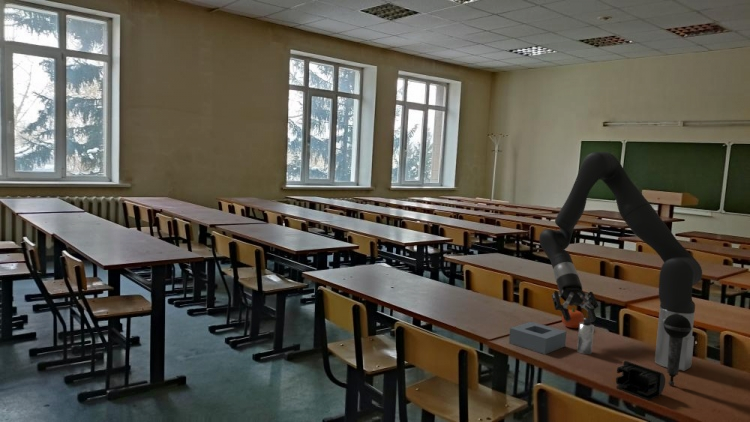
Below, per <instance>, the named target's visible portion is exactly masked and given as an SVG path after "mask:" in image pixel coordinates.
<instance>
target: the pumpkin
mask: <svg viewBox="0 0 750 422" xmlns="http://www.w3.org/2000/svg"><path fill="white" fill-rule="evenodd" d="M568 311H569V314H570V317H571V320H570V321H569V322H566V320H565V319H564V317H563V314H562V313H561V314H562V315H561V322H562V324H563V326H565V327H567V328H569V329H579V323H584V318H585V316H584V313H582V312H581V311H579V310H576V309H575V308H574V307H573V308H572V309H568Z"/></svg>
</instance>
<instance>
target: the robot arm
mask: <svg viewBox="0 0 750 422" xmlns="http://www.w3.org/2000/svg"><path fill="white" fill-rule="evenodd" d="M599 180H601V182H603V183H604V184H605V186H606V187H608V189H609V190H610V192H611V193H612V194H613V196H614V199H615V202H616V206H617V210H618V212H619V215H620V216H621V218H622V220H623V221H624V222H625V224H626V225H627V226H628V228H629V229H630V230H631V232H633V235H634V234H635V236H636V237H638V238H639V239H640V240H641V241H642V242H643V243H645V244H646V245H648V246H649V247H651V249H653V250H654V251H655V252H656V254H657V255H658V256H659V257H660V259H661V260H662V262H663V264H662V265H661V266H660V267H661V268H660V271H659V282H658V299H659V304H660V305H659V313H658V323H657V324H658V325H657V333H656V342H655V343H656V345H655V353H654V362H655V363H656V364H657V365H658V366H660V367H664V368H667V367H668V351H669V335H668V334H667V333H666V331H665V329H664V326H663V323H664V321H665V319H666V318H667V317H668V316H670V315H673V314H679V315H682V316H684V317H686V318H687V319H688V320H689V322H690V324H691V328H692V329H691V331H690V333H689V334H688V335H687V336H686V337H684V338H683V341H682V348H681V355H680V362H679V369H678V371H682V372H685V371H686V370H689V369H690V368H691V367H692V361H693V354H694V353H693V352H694V342H695V336H694V335H693V330H694V321H695V320H694V319H695V313H696V312H695V311H696V304H695V302H694V301H693V286H695V285H697V284H699V282H700V281H701V279H702V277H703V269H702V266H701V264H700V263H699V261H697V259H696V258H695V257H694V256H693V255H692V254H691V253H690V252H689V251H688V250H687V249H686V248H685V247H684V246H683V245H682V243H680V241H679V240H678V238H676V237H675V235H674V234H673V232H672V231H671V230H670V228H669V227H668V226H667V224H666V223H665V221H663V219H662V218H661V217H660V215H659V213H658V212H657V211H656V210H655V208H654V207H653V206H652V205H651V203H650V202H649V201H648V200H647V199H646V197H644V195H643V194H642V192H641V191H640V189H638V187H637V185H635V184H634V183H633V181H632V180H631V178H630V177H629V176H628V174H627V172H626V171H625V169H624V167H623V165H622V164H621V162H620V161H619V159H618V158H617V157H616V155H614V154H612V153H610V152H604V151H593V152H591V153H589V154H587V155H586V156H585V157H584V159H583V161H582V164H581V165H580V168H579V171H578V174H577V175H576V178H575V181H574V182H573V185H572V187H571V190H570V192H569V195H568V196H567V198H566V200H565V202H564V203H563V205H562V206H561V209H560V210H559V212H558V214H557V215H556V217H555V220H554V223H555V225H556V226H557V227H559V228H560V229H559V230H555V229H550V228H545V229H543V230H542V231H541V232H540V234H539V238H538V239H539V245H540V246H541V249H542V251H543V252H544V254H545V255H546V256H547V258H548V259H549V260H550V264H551V267H552V270H553V275H554V279H555V282H556V285H557V289H558V290H554V292H553V293H552V294H551V298H552V302H553V306H554V310H556V311H560V312H561V314H563V317H564V319H565V320H566V322H569V321H570V320H571V317H570V314H569V311H568V310H569V309H568V306H570V307H572V306H576V307H578V306H580V308H581V309H584V310H586V311H587V315H588V318H590V319H591V321H590V323H594V322H595V321H596V319H597V315H596V313H595V311H596V310H597V308H598V307H599V304H598V302H597V301H598V300H597V299H596V297H595V294H594V292H592V291H588V292H585V291H584V290H583V286H582V282H581V280H580V277H579V274H578V271H577V268H576V267H575V265H574V262H573V259H572V257H571V254H570V253H569V251H567V250H566V249H567V248H568V247H569V245H570V243H571V239H572V237H573V233H574V229H575V226H576V225H577V224H578V222H579V221H580V219H581V217H582V216H583V214H584V211H585V208H586V204H587V199H588V197H589V194H590V191H591V190H592V188H593V187H594V185H596V184H597V183H598V181H599ZM561 300H563V301H564V302H563V303H561Z"/></svg>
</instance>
